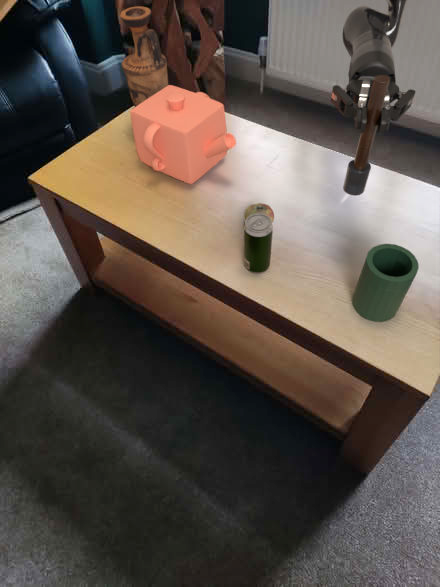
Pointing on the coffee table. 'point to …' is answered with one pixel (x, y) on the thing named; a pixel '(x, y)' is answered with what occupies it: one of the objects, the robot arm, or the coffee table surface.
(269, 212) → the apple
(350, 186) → the brush
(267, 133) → the coffee table surface
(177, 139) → the teapot
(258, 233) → the beer can
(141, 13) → the vase
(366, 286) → the green hollow cylinder
